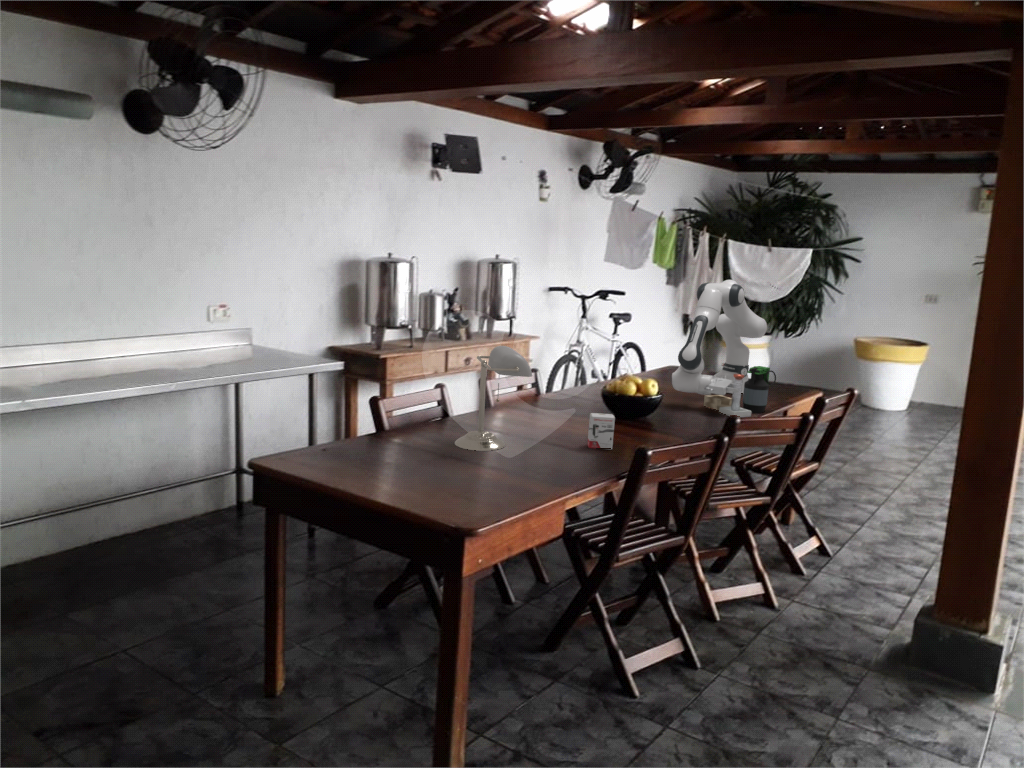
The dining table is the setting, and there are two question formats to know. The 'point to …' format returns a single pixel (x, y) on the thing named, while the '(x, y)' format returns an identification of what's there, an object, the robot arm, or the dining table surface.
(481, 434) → the lamp
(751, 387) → the grenade
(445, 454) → the dining table surface
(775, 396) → the dining table surface
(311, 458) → the dining table surface
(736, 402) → the pin
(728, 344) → the robot arm
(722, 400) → the block
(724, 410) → the tray
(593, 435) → the ink box
